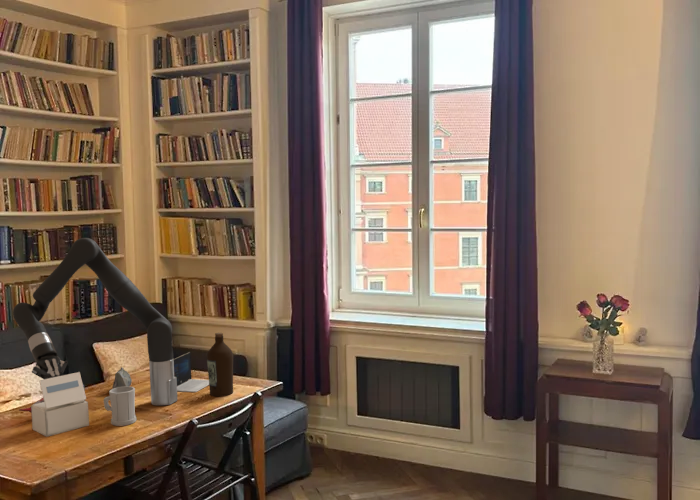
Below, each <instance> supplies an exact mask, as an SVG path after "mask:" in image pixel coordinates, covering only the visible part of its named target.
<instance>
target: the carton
mask: <svg viewBox="0 0 700 500" xmlns="http://www.w3.org/2000/svg"><path fill="white" fill-rule="evenodd" d="M32 405H33V406H32ZM32 405H31V406H30V407H31V412H30V413H31V425H32V426H31V428H32V430H33V431H34V432H37V433H39V434H41V435H42V436H44V437H46V438H47V437H52V436H55V435H58V434H63V433H66V432H69V431H73V430H76V429H77V430H78V429H81V428H84V427H89V426H90V415H89V402H88V401H86V399H85V400H81V401H77V402H73V403H68V404H64V405H60V406H56V407H52V408H48V409H46V407H45V403H44V402H42V403H37V404H34V403H33V404H32Z"/></svg>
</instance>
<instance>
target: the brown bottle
mask: <svg viewBox="0 0 700 500" xmlns="http://www.w3.org/2000/svg"><path fill="white" fill-rule="evenodd" d="M214 336H215V337H214V343H213V345H212V346H211V347H210V349H208V351H207V354H206V364H207V375H208V380H209V385H208V386H209V394H210V396H212V397H226V396H229V395H232V394H233V393H234V354H233V351H232V349H231V348H230V347H229V345H227V344H226V343H225V342H224V332H216V333H214Z"/></svg>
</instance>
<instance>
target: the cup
mask: <svg viewBox="0 0 700 500" xmlns="http://www.w3.org/2000/svg"><path fill="white" fill-rule="evenodd" d="M108 393H109V395H108V396H106V397H104V398H103V404H104V405H103V407H104V409H105V410H106V411H109V412H111V419H110V425H113V426H117V427H124V426H129V425H133V424H135V422H136V421H137V415H136V412H135V410H136V409H135V405H136V404H135V401H136V398H135V397H136V396H135V395H136V388H135V387H134V386H129V387H128V386H127V387H118V388H114V389H113V388H112V389H110V390H109V392H108ZM109 401H110V404H109Z"/></svg>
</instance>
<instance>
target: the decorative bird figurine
mask: <svg viewBox="0 0 700 500" xmlns="http://www.w3.org/2000/svg"><path fill="white" fill-rule="evenodd" d="M42 402H44V399H43V397H41V398H40V399H39V400H37V401H35V402H34V403H33V404H37V403H42ZM33 404H31V406H33ZM31 406H30V407H28V408H27V407H25V408H20V409H18V411H19V412H28V413H29V412H30V413H31Z"/></svg>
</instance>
